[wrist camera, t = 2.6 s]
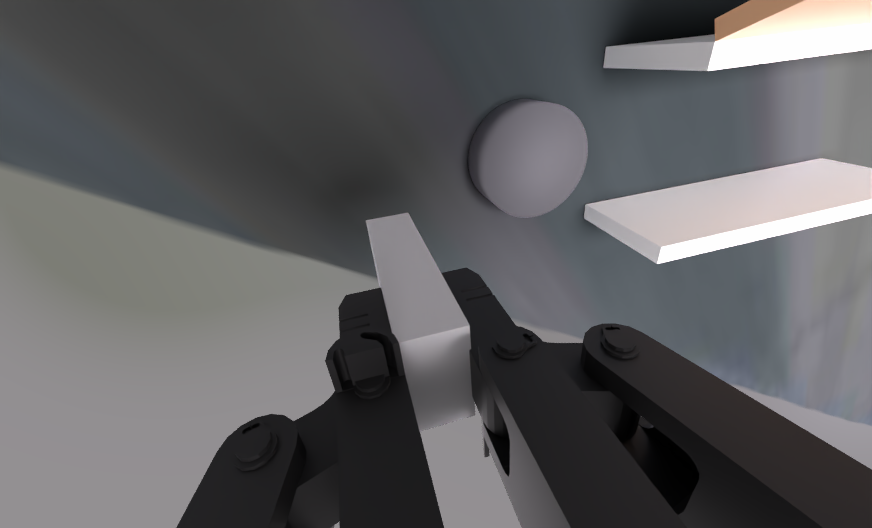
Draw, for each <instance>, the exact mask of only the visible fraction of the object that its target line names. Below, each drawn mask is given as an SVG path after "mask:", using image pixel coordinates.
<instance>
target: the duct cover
mask: <svg viewBox="0 0 872 528" xmlns="http://www.w3.org/2000/svg"><path fill="white" fill-rule="evenodd" d="M869 23H872V0H750V1H748V2H746V3H744V4H742V5H740V6H738V7H736V8H734V9H733V10H731V11H729V12H727V13H725V14H723V15H721V16H719V17H717V18H715V42H717V41H725V40H734V39H742V38H751V37H759V36H767V35H776V34H784V33H793V32H801V31H810V30H818V29H826V28H835V27H843V26H852V25H860V24H869Z"/></svg>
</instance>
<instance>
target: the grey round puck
mask: <svg viewBox="0 0 872 528" xmlns="http://www.w3.org/2000/svg"><path fill="white" fill-rule="evenodd" d="M587 155H588V142H587V136H586V132H585V129H584V126H583V124H582V123H581V121H580V119H579V118H578V117H577V116H576V115H575V114H574V113H573V112H572V111H571V110H569V109H568V108H566V107H564V106H562V105H559V104H554V103H549V102H544V101H538V100H533V99H516V100H512V101H508V102H506V103H504V104H502V105H500V106H498V107H497V108H495V109H494V110H493V111H491V112H490V113H489V114H488V115H487V116H486V117H485V118H484V120H483V121H482V122H481V123H480V125H479V126H478V128H477V130H476V132H475V134H474V136H473V138H472V141H471V144H470V149H469V156H468V165H469V172H470V175H471V178H472V181H473V183H474V185H475V186H476V188H477V189H478V190H479V191H480V193H481V194H483V195H484V196H485V197H486V198H487V199H489V200H490V201H491V202H492V203H493V204H495V205H496V206H497V207H498V208H499V209H501V210H502V211H504V212H505V213H507V214H509V215H511V216H515V217H521V218H531V217H536V216H540V215H543V214H545V213H547V212H549V211H551V210H553V209H555V208H556V207H557V206H559V205H560V204H561V203H562V202H563V201H565V200H566V199H567V197H568V196H569V195H570V194H571V193H572V192H573V190H574V189H575V187H576V186H577V184H578V182H579V181H580V179H581V176H582V174H583V171H584V169H585V165H586V161H587Z"/></svg>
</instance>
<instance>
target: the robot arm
mask: <svg viewBox="0 0 872 528" xmlns="http://www.w3.org/2000/svg"><path fill="white" fill-rule="evenodd" d="M366 224H367V229H368V234H369V239H370V243H371V248H372V253H373V258H374V263H375V268H376V272H377V277H378V282H379V287H380V288H377V289H372V290H368V291H363V292H359V293H354V294H350V295H346V296H345V298H344V299H343V301H342V303H341V305H340V306H339V321H340V322H339V328H340V339H338V340H337V341H336V342H335V343H334V344H333V345H332V347H331V348H330V349H329V350H328V353H327V357H326V360H325V362H326V365H327V367H328V370H329V373H330V376H331V379H332V382H333V385H334V388H335V392H334V393H333V395H332V396H331V397H330V398H329V399H328V400H327V401H326V402H325V403H324V404H323V405H321V406H319V407H318V408H317V409H315V410H314V411H312V412H310V413H308V414H306V415H304V416H303V417H301V418H299V419H297V420H295V421H292V420H291V419H289V418H287V417H286V416H284V415H275V414H270V415H266V416H261V417H257V418H255V419H253V420H251V421H249V422H247V423H246V424H244V425H242V426H240V427H239V428H238V429H237V430H236V431H234V432H233V433H232V434H231V435H230V436H229V437H227V439H226V440H225V441H224V443H223V444H222V446H221V447H220V448H219V450H218V451H217V453H216V455H215V457H214V458H213V460H212V462H211V464H210V466H209V468H208V470H207V472H206V473H205V475H204V477H203V479H202V481H201V483H200V485H199V487H198V488H197V490H196V492H195V494H194V496H193V498H192V500H191V501H190V503H189V505H188V507H187V509H186V511H185V513H184V514H183V516H182V518H181V520H180V522H179V524H178V526H177V528H334V525H335V524H336V523H338V522H339V521H340V528H444V526H443V522H442V518H441V514H440V510H439V506H438V502H437V498H436V494H435V490H434V487H433V483H432V478H431V475H430V471H429V467H428V463H427V459H426V455H425V451H424V447H423V443H422V439H421V435H420V431H423V430H427V429H430V428H434V427H437V426H441V425H444V424H447V423H450V422H454V421H457V420H461V419H464V418H468V417H471V416H474V415H475V404H476V406H477V408H478V411H479V413H480V415H481V417H482V435H483V450H484V455H485V457H488V456H489V450H490V453H491V455H492V457H493V460H494V462H495V465H496V467H497V469H498V472H499V474H500V476H501V479H502V481H503V484H504V486H505V489H506V491H507V493H508V496H509V498H510V501H511V503H512V505H513V508H514V510H515V513H516V515H517V517H518V520H519V522H520V525H521V527H522V528H872V470H871V469H870V468H868V467H866V466H865V465H863V464H861V463H860V462H858V461H856V460H855V459H853V458H851V457H850V456H848V455H846V454H845V453H843V452H841V451H840V450H838V449H836V448H835V447H833V446H831V445H829V444H828V443H826V442H825V441H823V440H821V439H819V438H818V437H816V436H814V435H813V434H811V433H809V432H808V431H806V430H804V429H803V428H801V427H799V426H798V425H796V424H794V423H793V422H791V421H789V420H788V419H786V418H784V417H783V416H781V415H779V414H778V413H776V412H774V411H772V410H771V409H769V408H768V407H766V406H764V405H763V404H761V403H759V402H758V401H756V400H754V399H753V398H751V397H749V396H748V395H746V394H744V393H743V392H741V391H739V390H738V389H736V388H734V387H732V386H731V385H729V384H727V383H726V382H724V381H722V380H721V379H719V378H717V377H716V376H714V375H712V374H711V373H709V372H707V371H706V370H704V369H702V368H701V367H699V366H697V365H696V364H694V363H692V362H691V361H689V360H687V359H686V358H684V357H682V356H681V355H679V354H677V353H676V352H674V351H672V350H671V349H669V348H667V347H666V346H664V345H662V344H661V343H659V342H657V341H656V340H654V339H652V338H650V337H649V336H647V335H645V334H644V333H642V332H640V331H638V330H636V329H633V328H631V327H629V326H624V325H619V324H600V325H597V326H594V327H591V328H590V329H589V330H588V331H587V332H586V333H585V336H584V340H583V343H547V342H543V341H542V340H541V339H540V338H539V337H538V336H537V335H536V334H534V333H533V332H532V331H530V330H527V329H525V328H523V327H518V326H516V325H515V324H514V322H513V321H512V320H511V318H510V317H509V315H508V314H507V313H506V311H505V310H504V309H503V307H502V306H501V304H500V303H499V302H498V300H497V299H496V298H495V296H494V295H493V294H492V292H491V291H490V289H489V288H488V287H487V286H486V284H485V282H484V281H483V280H482V278H481V277H480V275H478V274H477V273H475V272H473V271H471V270H469V269H468V268H462V269H458V270H453V271H449V272H444V273H441V272H440V270H439V268H438V266H437V265H436V263H435V261H434V259H433V257H432V255H431V254H430V252H429V250H428V248H427V246H426V245H425V243H424V241H423V239H422V237H421V235H420V234H419V232H418V230H417V228H416V226H415V224H414V223H413V221H412V219H411V217H410V215H409V213H402V214H397V215H392V216H386V217H381V218H376V219H370V220H366ZM474 401H475V403H474ZM642 417H643V418H642Z"/></svg>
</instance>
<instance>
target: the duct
mask: <svg viewBox="0 0 872 528" xmlns="http://www.w3.org/2000/svg"><path fill="white" fill-rule="evenodd" d="M867 49H872V23H869V24H860V25H852V26H843V27H835V28H826V29H818V30H810V31H801V32H793V33H784V34H776V35H767V36H759V37H751V38H742V39H734V40H725V41H717V42H715V34H713V35H704V36H696V37H687V38H678V39H669V40H661V41H652V42H643V43H635V44H626V45H617V46H608V47H606V50H605V58H604V66H603V68H623V69H656V70H690V71H712V70H719V69H726V68H734V67H741V66H749V65H756V64H763V63H771V62H778V61H786V60H793V59H801V58H808V57H815V56H823V55H830V54H838V53H845V52H853V51H860V50H867ZM870 213H872V168H869V167H864V166H859V165H854V164H849V163H844V162H839V161H834V160H829V159H824V158H819V159H814V160H809V161H804V162H799V163H794V164H789V165H783V166H778V167H773V168H768V169H763V170H758V171H753V172H748V173H743V174H738V175H733V176H727V177H722V178H717V179H712V180H707V181H702V182H697V183H692V184H687V185H682V186H676V187H671V188H666V189H661V190H656V191H651V192H646V193H641V194H636V195H631V196H625V197H620V198H615V199H610V200H605V201H600V202H595V203H590V204H586V205H585V213H584V219H586V220H587V221H589V222H591V223H592V224H594V225H596V226H597V227H599V228H600V229H602V230H604V231H605V232H607V233H608V234H610V235H612V236H613V237H615V238H616V239H618V240H620V241H621V242H623V243H624V244H626V245H628V246H629V247H631V248H632V249H634V250H636V251H637V252H639V253H640V254H642V255H644V256H645V257H647V258H648V259H650V260H652V261H653V262H655V263H656V264H659V263H663V262H667V261H672V260H676V259H680V258H684V257H689V256H693V255H697V254H701V253H705V252H710V251H714V250H718V249H722V248H727V247H731V246H735V245H739V244H744V243H748V242H752V241H756V240H760V239H765V238H769V237H773V236H777V235H782V234H786V233H790V232H794V231H799V230H803V229H807V228H811V227H815V226H820V225H824V224H828V223H832V222H837V221H841V220H845V219H849V218H853V217H858V216H862V215H866V214H870Z"/></svg>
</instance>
